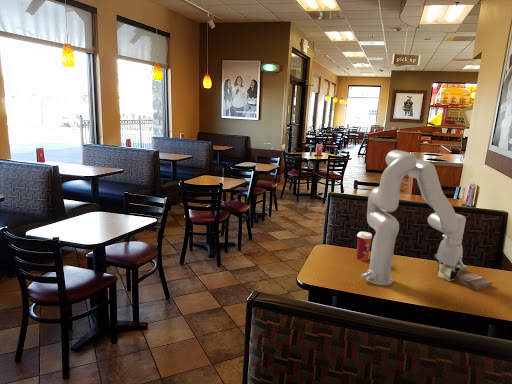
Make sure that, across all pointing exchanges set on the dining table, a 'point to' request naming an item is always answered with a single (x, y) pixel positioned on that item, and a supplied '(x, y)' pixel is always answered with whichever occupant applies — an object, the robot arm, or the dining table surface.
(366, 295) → the dining table surface
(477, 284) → the walnut board
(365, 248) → the paper cup
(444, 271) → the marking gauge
